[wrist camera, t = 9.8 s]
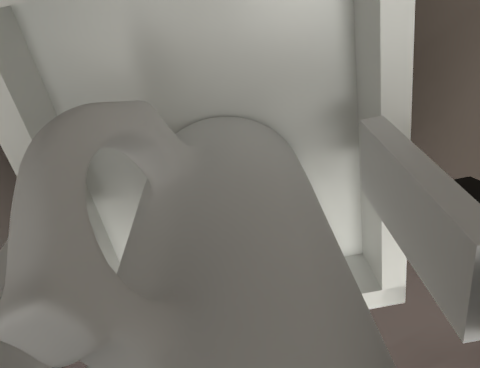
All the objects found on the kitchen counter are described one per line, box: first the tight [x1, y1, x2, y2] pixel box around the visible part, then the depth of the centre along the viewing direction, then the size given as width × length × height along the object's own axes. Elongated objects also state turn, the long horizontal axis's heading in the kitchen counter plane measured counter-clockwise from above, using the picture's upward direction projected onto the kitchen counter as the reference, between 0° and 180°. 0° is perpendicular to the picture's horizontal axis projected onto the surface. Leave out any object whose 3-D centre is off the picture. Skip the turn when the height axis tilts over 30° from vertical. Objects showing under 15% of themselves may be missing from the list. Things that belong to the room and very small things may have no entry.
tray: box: [0, 0, 415, 309], centre depth 15 cm, size 15×13×3 cm
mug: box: [0, 100, 396, 368], centre depth 11 cm, size 10×7×12 cm, turn 32°
